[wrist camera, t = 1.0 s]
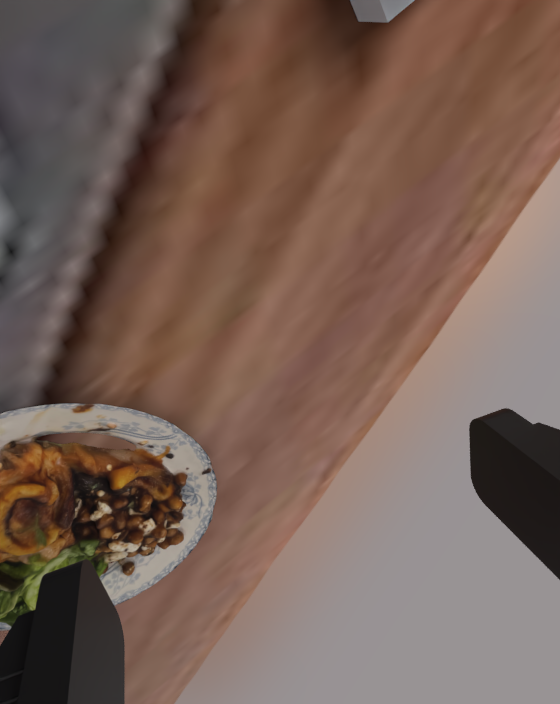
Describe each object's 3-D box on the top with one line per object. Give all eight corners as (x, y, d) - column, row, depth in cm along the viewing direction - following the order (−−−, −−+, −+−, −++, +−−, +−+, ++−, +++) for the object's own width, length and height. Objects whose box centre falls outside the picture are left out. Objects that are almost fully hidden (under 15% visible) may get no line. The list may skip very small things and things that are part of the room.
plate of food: (-25, 647, 49) (-31, 713, 45) (-244, 478, 32) (-289, 556, 28) (234, 530, 56) (252, 577, 51) (165, 337, 39) (183, 381, 34)
